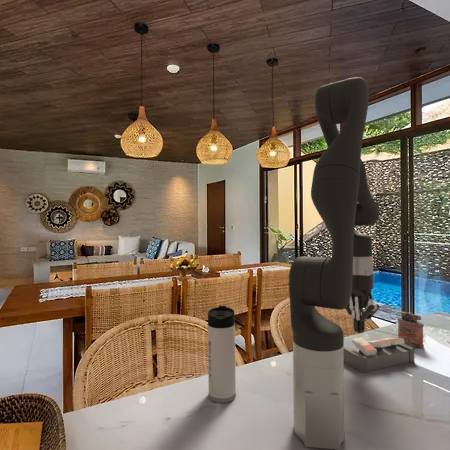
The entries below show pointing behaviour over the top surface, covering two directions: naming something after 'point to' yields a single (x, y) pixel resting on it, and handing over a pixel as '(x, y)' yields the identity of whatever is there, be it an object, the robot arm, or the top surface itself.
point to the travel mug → (221, 354)
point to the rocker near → (364, 346)
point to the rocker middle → (379, 343)
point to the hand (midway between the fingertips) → (359, 332)
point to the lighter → (411, 329)
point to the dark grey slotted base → (379, 357)
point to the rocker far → (394, 340)
